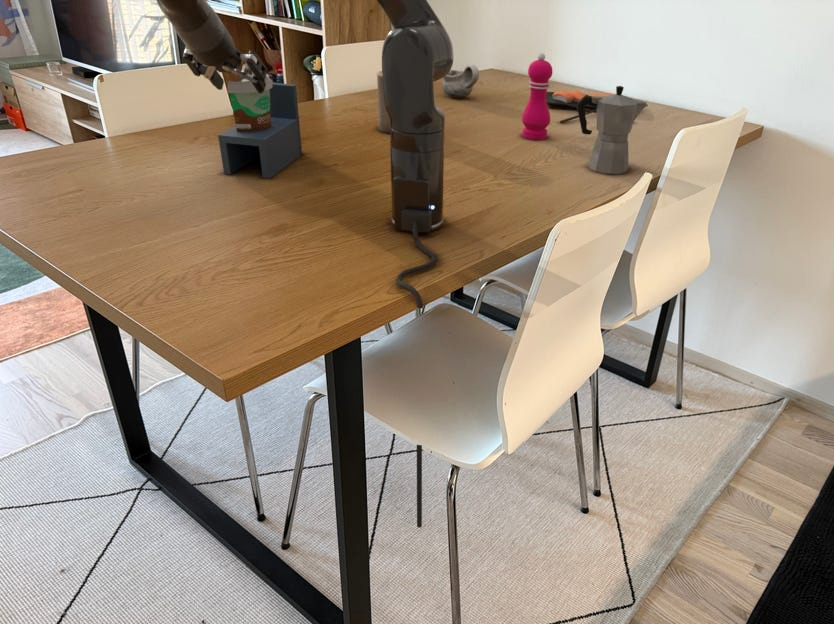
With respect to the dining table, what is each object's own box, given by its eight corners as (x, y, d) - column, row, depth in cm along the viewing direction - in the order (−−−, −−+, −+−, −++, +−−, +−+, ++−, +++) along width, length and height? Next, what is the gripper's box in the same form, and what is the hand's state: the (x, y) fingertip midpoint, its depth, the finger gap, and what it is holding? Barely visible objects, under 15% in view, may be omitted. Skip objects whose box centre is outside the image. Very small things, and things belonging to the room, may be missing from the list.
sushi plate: (633, 104, 216) (635, 91, 214) (638, 129, 191) (641, 115, 189) (539, 97, 219) (541, 84, 217) (532, 121, 194) (533, 106, 192)
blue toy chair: (269, 178, 145) (260, 103, 136) (223, 173, 146) (212, 98, 138) (302, 153, 160) (296, 84, 151) (260, 149, 161) (252, 80, 152)
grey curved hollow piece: (453, 91, 220) (454, 57, 214) (487, 98, 214) (489, 63, 209) (435, 97, 213) (435, 61, 207) (470, 103, 207) (471, 67, 202)
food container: (262, 136, 142) (255, 84, 136) (233, 133, 143) (226, 81, 137) (286, 121, 152) (281, 72, 147) (259, 119, 153) (253, 70, 147)
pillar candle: (419, 134, 177) (418, 71, 169) (380, 134, 175) (378, 71, 167) (413, 124, 185) (413, 63, 177) (376, 124, 183) (374, 63, 175)
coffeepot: (633, 163, 165) (647, 83, 155) (639, 176, 157) (654, 92, 147) (568, 159, 165) (577, 79, 155) (571, 172, 157) (581, 88, 147)
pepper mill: (521, 132, 184) (527, 49, 173) (548, 134, 183) (557, 51, 172) (519, 139, 178) (526, 54, 167) (548, 141, 177) (556, 56, 166)
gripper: (245, 16, 122) (279, 73, 138) (169, 10, 124) (212, 67, 140) (236, 53, 121) (271, 107, 137) (159, 47, 122) (203, 101, 138)
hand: (241, 87), depth 138 cm, fingers open, 8 cm apart
